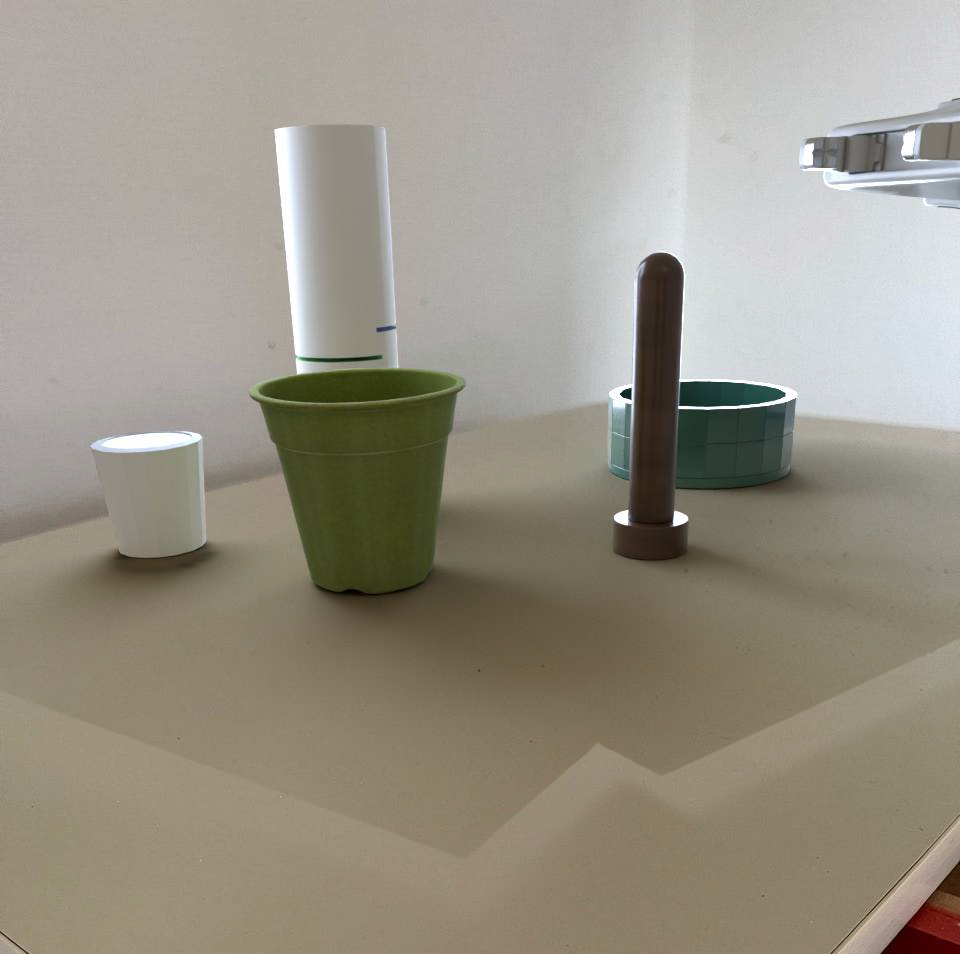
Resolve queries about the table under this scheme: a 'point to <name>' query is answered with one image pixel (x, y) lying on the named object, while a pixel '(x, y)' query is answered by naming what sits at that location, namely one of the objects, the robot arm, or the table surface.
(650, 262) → the pestle
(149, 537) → the white short cylinder
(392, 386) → the plant pot
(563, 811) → the table surface
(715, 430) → the bowl
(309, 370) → the cylindrical container
